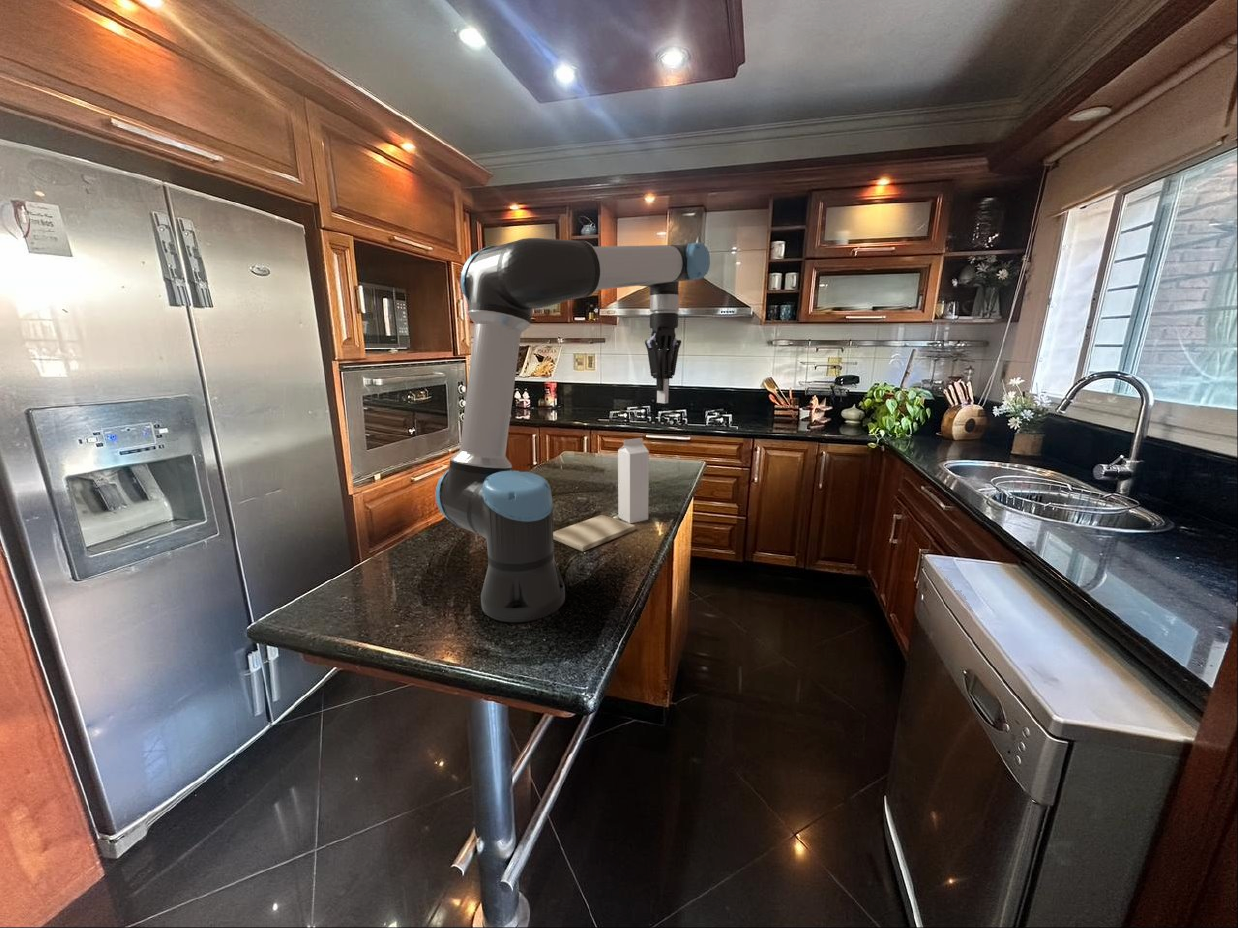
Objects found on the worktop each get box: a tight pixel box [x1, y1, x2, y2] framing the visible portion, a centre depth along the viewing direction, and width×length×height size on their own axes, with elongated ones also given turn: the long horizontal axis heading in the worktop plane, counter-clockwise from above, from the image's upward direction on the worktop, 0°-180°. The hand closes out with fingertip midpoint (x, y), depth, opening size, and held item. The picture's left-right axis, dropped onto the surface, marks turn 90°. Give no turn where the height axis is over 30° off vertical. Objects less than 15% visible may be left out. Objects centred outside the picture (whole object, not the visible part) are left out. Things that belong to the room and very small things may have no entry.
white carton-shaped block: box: [617, 437, 650, 524], centre depth 127 cm, size 6×6×22 cm
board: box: [553, 514, 636, 552], centre depth 119 cm, size 18×12×1 cm, turn 137°
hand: (662, 402), depth 131 cm, fingers closed
